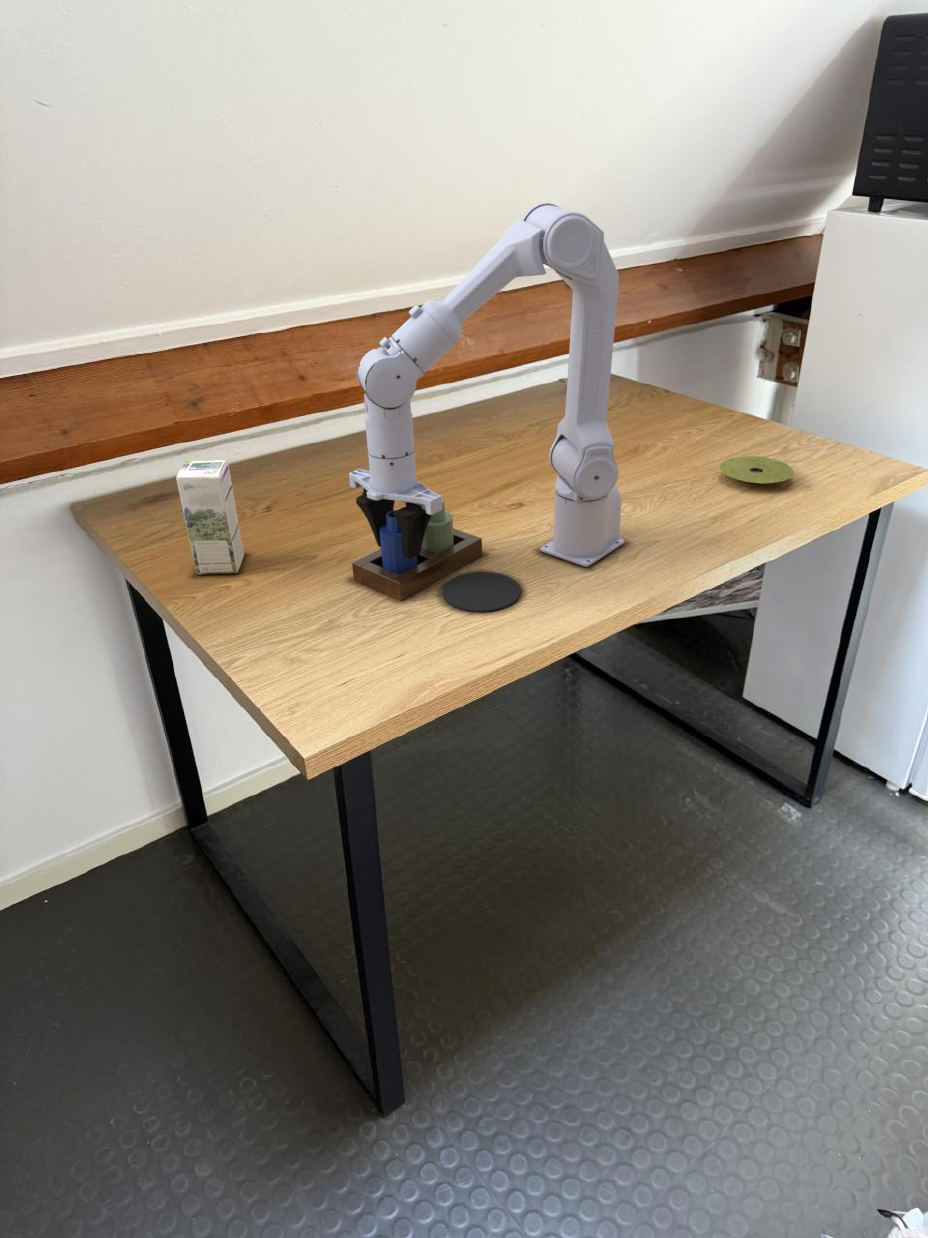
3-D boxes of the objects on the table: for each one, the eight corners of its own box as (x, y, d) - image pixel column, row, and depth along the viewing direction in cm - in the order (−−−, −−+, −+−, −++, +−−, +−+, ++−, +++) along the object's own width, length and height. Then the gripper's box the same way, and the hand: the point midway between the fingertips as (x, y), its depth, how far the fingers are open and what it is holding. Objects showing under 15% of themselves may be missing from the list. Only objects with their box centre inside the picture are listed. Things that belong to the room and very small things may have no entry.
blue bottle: (400, 561, 123) (396, 503, 118) (425, 571, 120) (421, 512, 116) (376, 574, 120) (370, 515, 115) (401, 584, 117) (396, 525, 113)
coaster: (477, 566, 122) (477, 564, 122) (536, 589, 117) (536, 587, 116) (426, 595, 116) (426, 593, 116) (486, 621, 110) (486, 618, 110)
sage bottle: (436, 547, 128) (433, 491, 123) (460, 556, 125) (458, 499, 121) (413, 559, 125) (410, 502, 120) (438, 568, 122) (435, 511, 118)
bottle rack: (353, 580, 120) (351, 562, 119) (435, 537, 130) (434, 521, 129) (401, 601, 115) (399, 583, 114) (482, 555, 125) (482, 538, 124)
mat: (705, 472, 148) (706, 460, 147) (766, 462, 150) (768, 451, 149) (741, 498, 139) (743, 486, 138) (806, 488, 141) (808, 476, 140)
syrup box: (245, 554, 127) (228, 457, 120) (237, 575, 122) (219, 474, 115) (204, 556, 127) (185, 458, 120) (195, 576, 122) (174, 476, 115)
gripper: (327, 447, 113) (338, 545, 120) (411, 474, 104) (418, 577, 112) (368, 431, 117) (376, 526, 124) (452, 456, 109) (456, 556, 116)
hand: (398, 549), depth 118 cm, fingers closed on blue bottle, 4 cm apart
